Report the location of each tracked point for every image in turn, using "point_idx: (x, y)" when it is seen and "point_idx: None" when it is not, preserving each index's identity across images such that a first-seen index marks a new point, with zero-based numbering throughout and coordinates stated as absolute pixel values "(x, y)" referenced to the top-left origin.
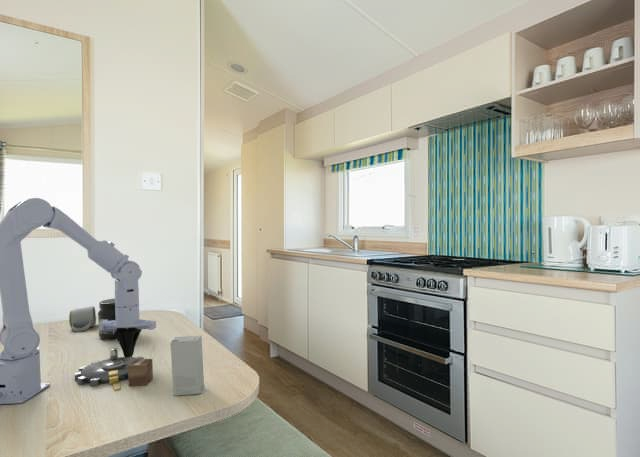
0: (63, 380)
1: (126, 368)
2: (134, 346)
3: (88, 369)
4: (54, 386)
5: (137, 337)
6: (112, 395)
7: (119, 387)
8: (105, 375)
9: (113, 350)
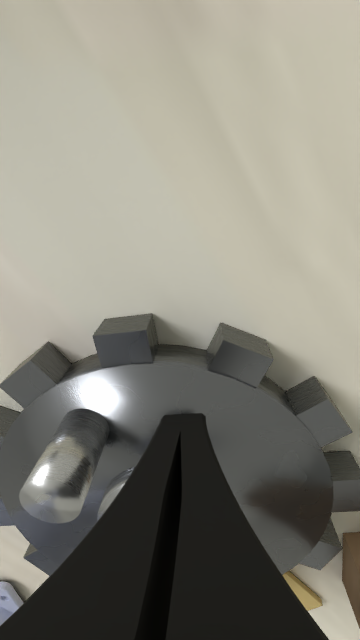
0: (9, 544)
1: (264, 525)
2: (217, 465)
3: (58, 538)
4: (32, 580)
5: (267, 564)
6: None
7: (316, 602)
8: None
9: (70, 517)
